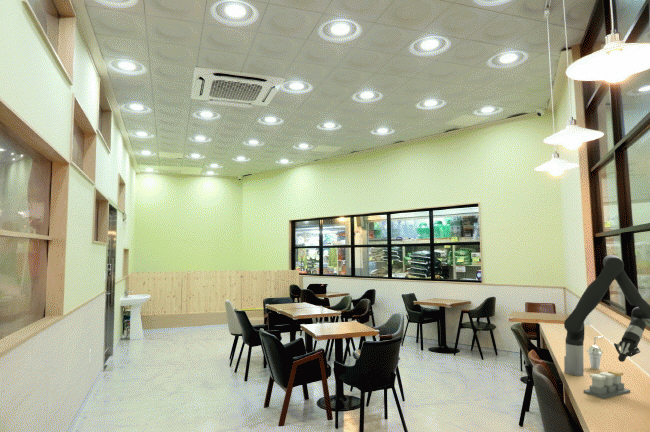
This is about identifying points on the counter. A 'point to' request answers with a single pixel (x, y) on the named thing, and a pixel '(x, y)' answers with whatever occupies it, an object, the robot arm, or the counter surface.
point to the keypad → (607, 391)
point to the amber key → (616, 376)
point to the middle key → (608, 378)
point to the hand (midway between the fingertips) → (620, 360)
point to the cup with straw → (595, 355)
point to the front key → (597, 380)
